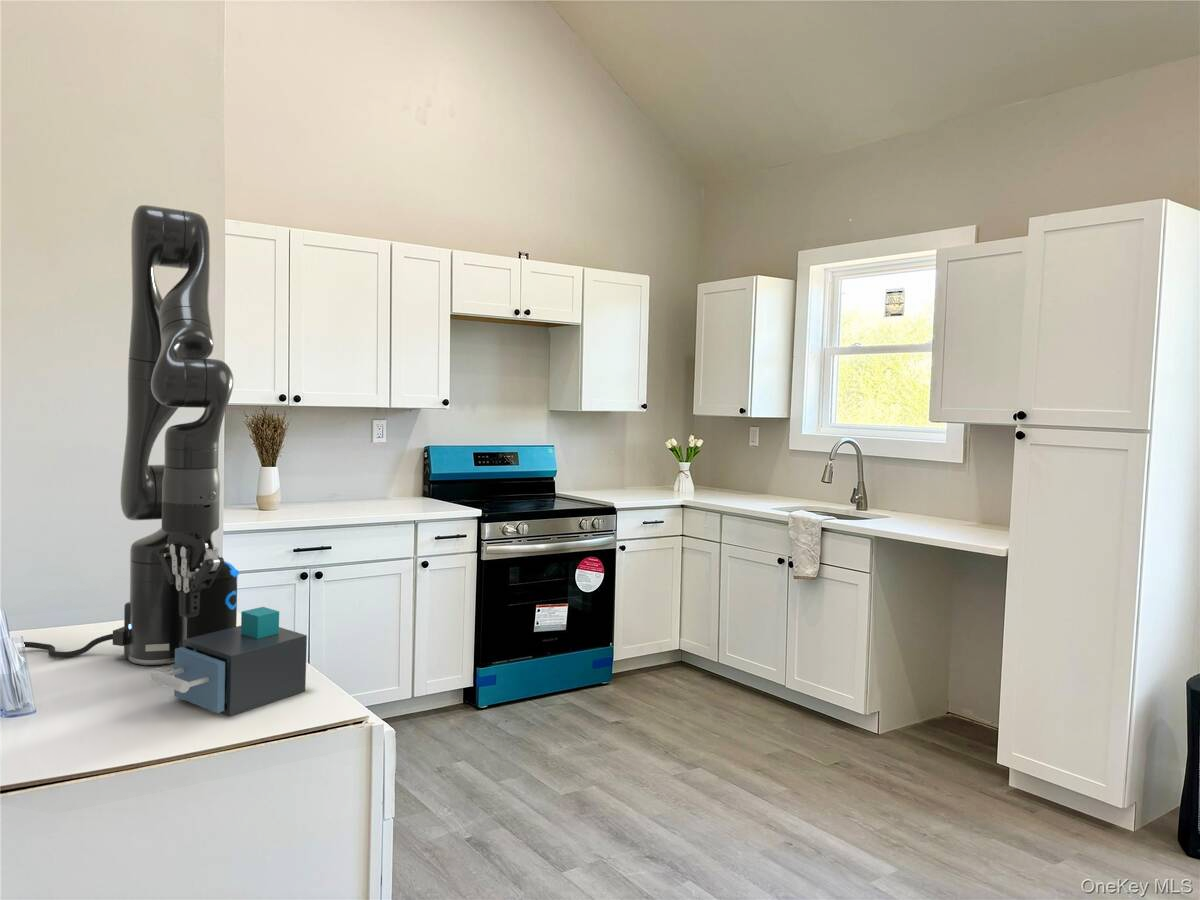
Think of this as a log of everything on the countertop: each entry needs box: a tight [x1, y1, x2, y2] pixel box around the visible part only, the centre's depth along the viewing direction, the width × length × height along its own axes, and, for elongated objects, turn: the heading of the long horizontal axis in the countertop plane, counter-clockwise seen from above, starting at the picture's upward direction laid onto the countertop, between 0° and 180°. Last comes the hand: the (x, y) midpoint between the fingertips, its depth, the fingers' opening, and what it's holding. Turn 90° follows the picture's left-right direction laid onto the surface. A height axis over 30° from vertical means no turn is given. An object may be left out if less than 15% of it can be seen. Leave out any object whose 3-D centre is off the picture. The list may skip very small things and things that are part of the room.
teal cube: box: [240, 606, 280, 639], centre depth 140 cm, size 4×4×4 cm
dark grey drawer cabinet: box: [183, 625, 308, 717], centre depth 138 cm, size 14×12×9 cm
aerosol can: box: [187, 546, 240, 639], centre depth 150 cm, size 8×8×20 cm
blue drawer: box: [150, 647, 228, 714], centre depth 134 cm, size 17×10×7 cm, turn 148°
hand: (189, 616), depth 129 cm, fingers closed
